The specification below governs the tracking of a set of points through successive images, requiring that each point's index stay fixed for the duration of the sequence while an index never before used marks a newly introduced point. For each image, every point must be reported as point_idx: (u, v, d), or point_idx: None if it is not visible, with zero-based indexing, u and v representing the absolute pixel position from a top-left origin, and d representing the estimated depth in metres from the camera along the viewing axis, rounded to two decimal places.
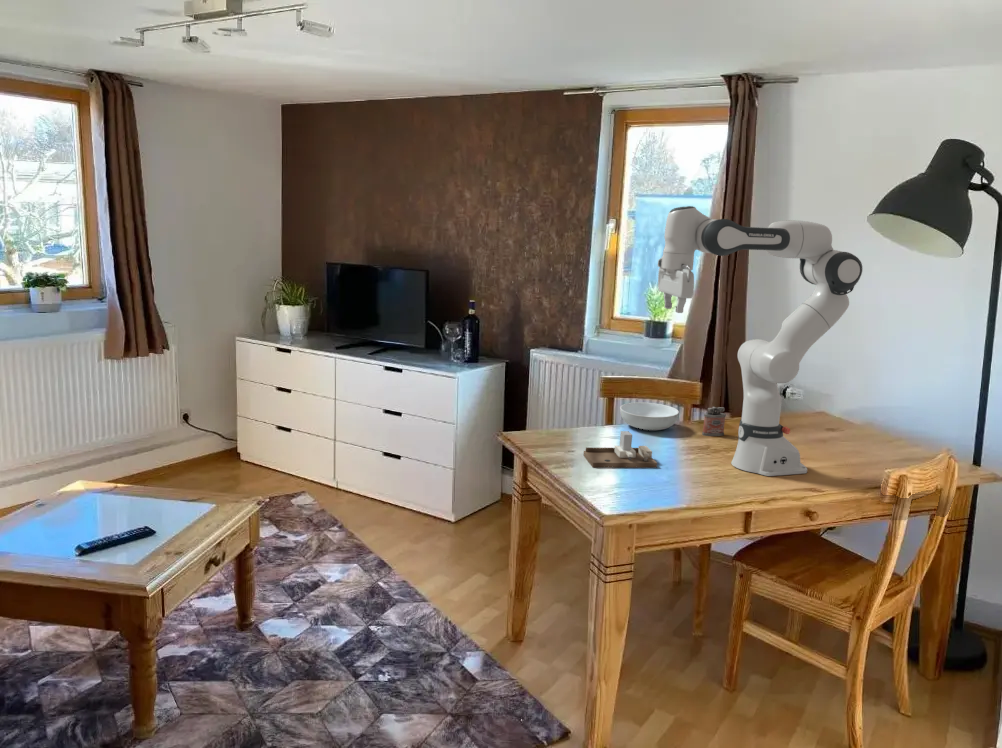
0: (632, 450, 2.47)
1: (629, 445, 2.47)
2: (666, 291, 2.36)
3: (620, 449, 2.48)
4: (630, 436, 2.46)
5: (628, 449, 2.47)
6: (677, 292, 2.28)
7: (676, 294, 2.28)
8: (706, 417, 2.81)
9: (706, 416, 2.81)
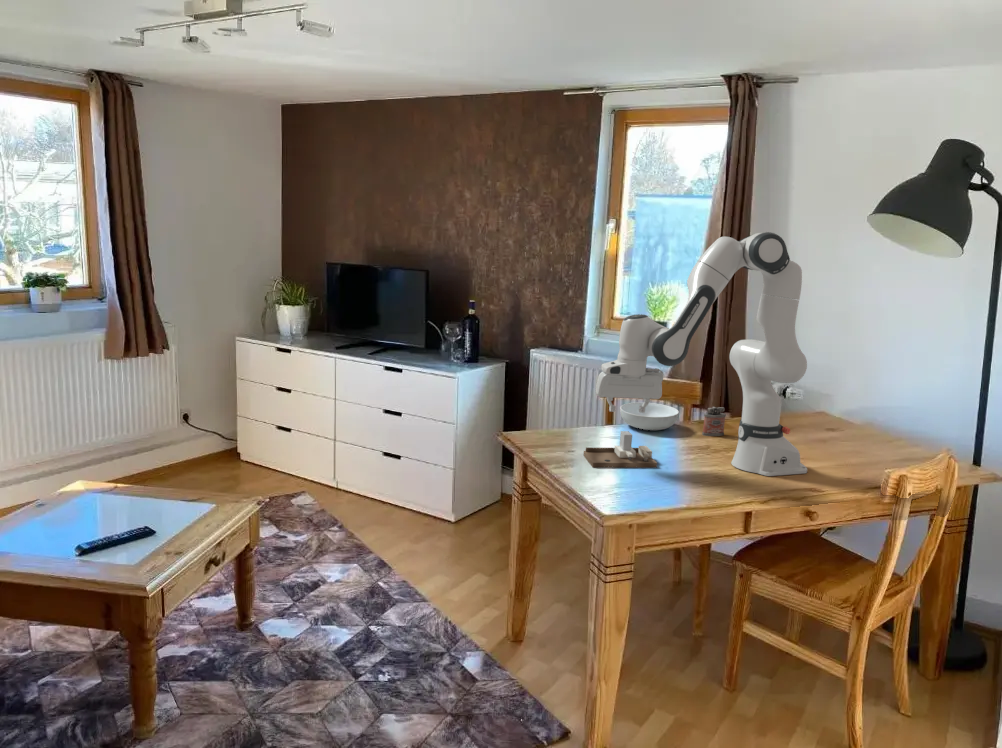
0: (632, 450, 2.47)
1: (629, 445, 2.47)
2: (622, 395, 2.44)
3: (620, 449, 2.48)
4: (630, 436, 2.46)
5: (628, 449, 2.47)
6: (650, 394, 2.45)
7: (649, 396, 2.45)
8: (706, 417, 2.81)
9: (706, 416, 2.81)
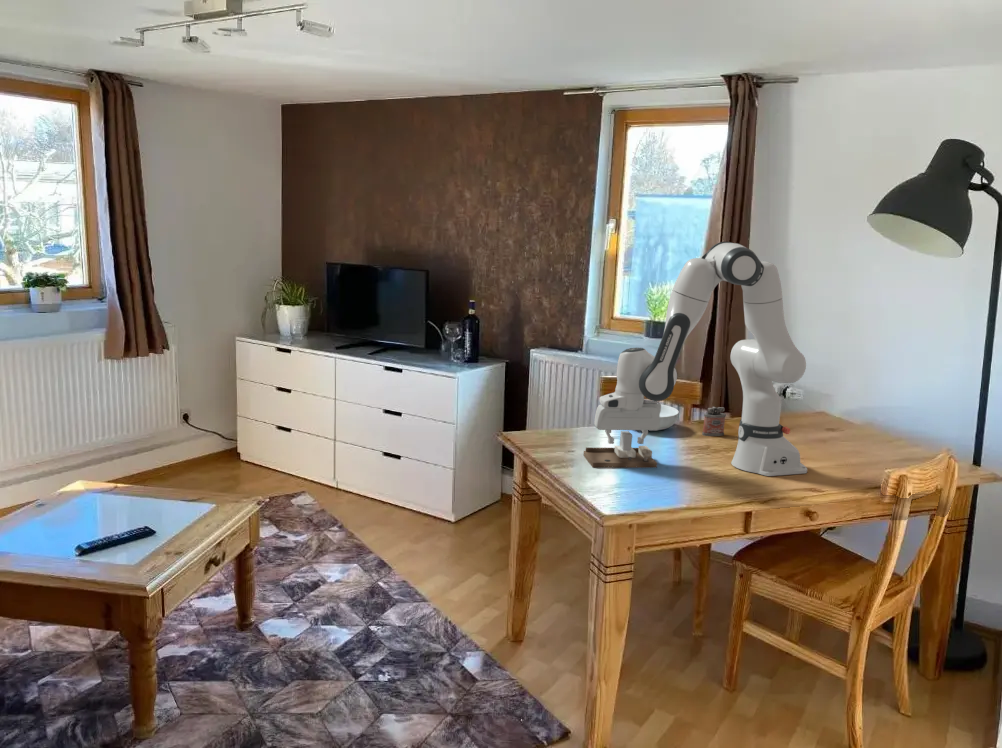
0: (632, 450, 2.47)
1: (629, 445, 2.47)
2: (621, 428, 2.45)
3: (620, 449, 2.48)
4: (630, 436, 2.46)
5: (628, 449, 2.47)
6: (648, 426, 2.47)
7: (647, 428, 2.47)
8: (706, 417, 2.81)
9: (706, 416, 2.81)
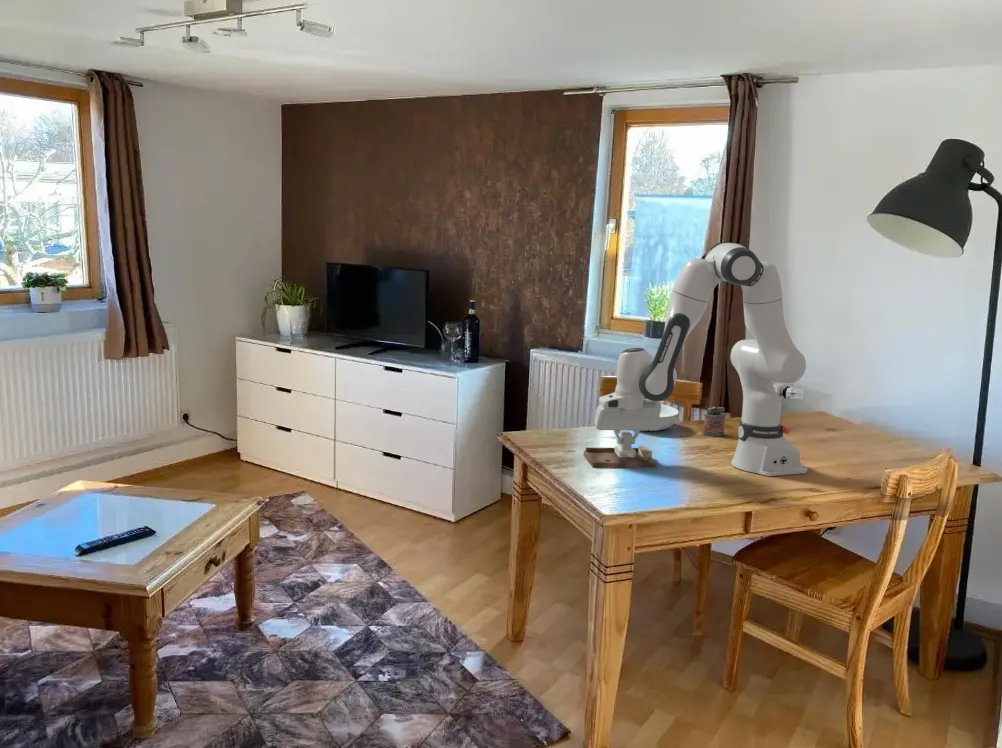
0: (632, 450, 2.47)
1: (629, 445, 2.47)
2: (621, 428, 2.46)
3: (620, 449, 2.48)
4: (630, 436, 2.46)
5: (628, 449, 2.47)
6: (648, 426, 2.47)
7: (647, 428, 2.47)
8: (706, 417, 2.81)
9: (706, 416, 2.81)
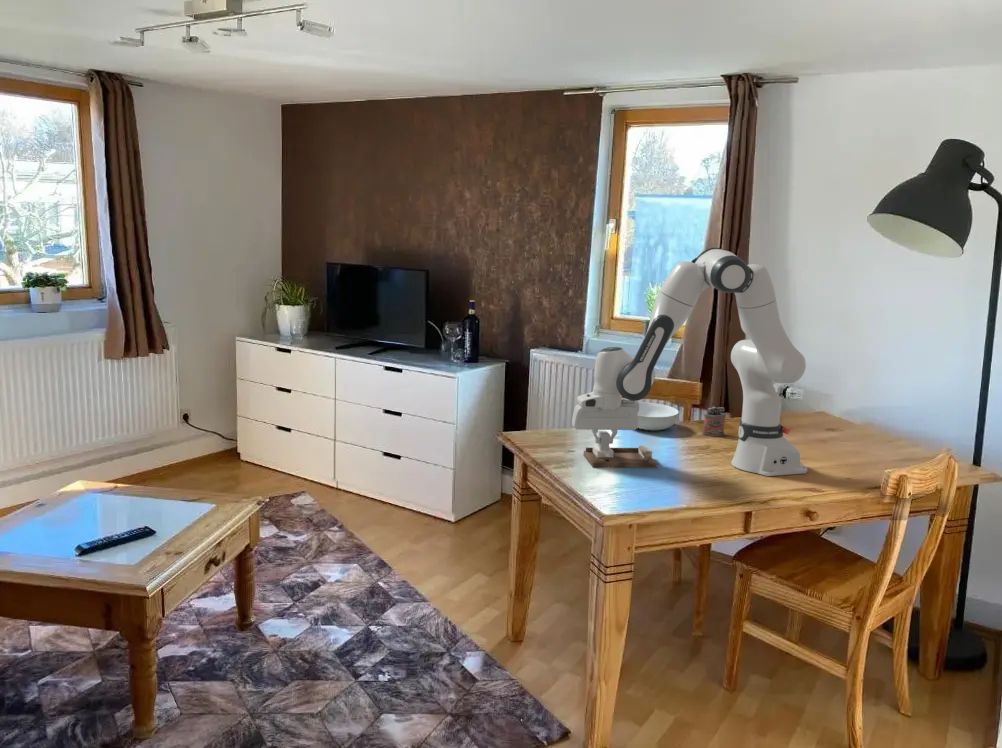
0: (610, 450, 2.46)
1: (607, 445, 2.46)
2: (598, 427, 2.45)
3: (598, 449, 2.47)
4: (608, 436, 2.45)
5: (606, 449, 2.46)
6: (626, 426, 2.46)
7: (625, 428, 2.46)
8: (706, 417, 2.81)
9: (706, 416, 2.81)
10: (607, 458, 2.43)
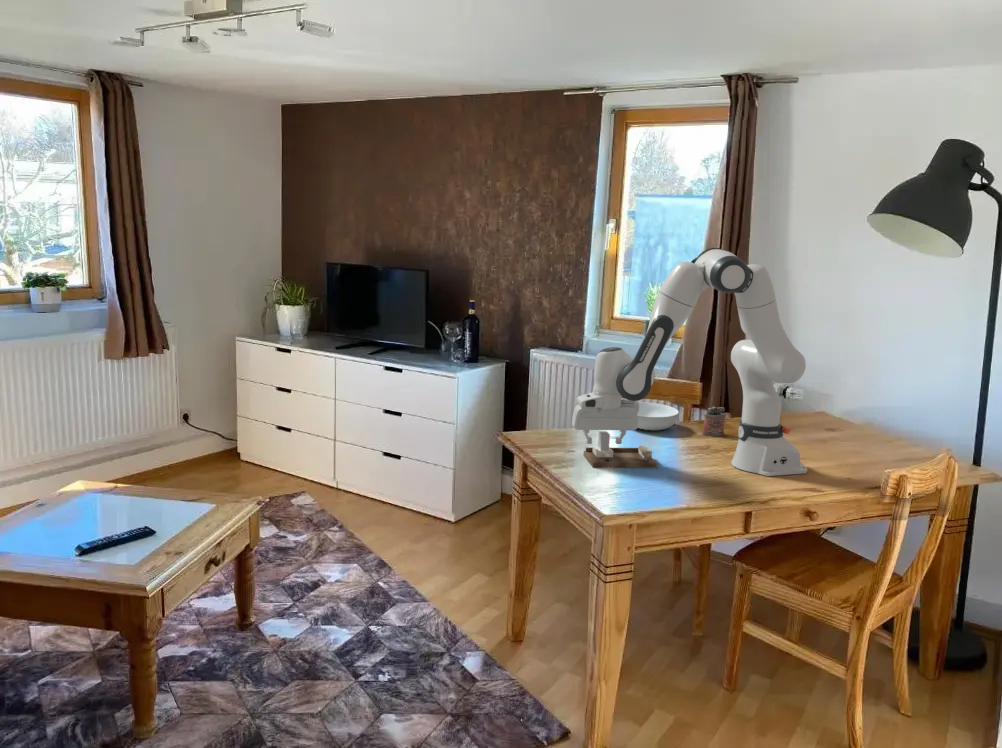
0: (610, 450, 2.46)
1: (607, 445, 2.46)
2: (598, 428, 2.45)
3: (598, 449, 2.47)
4: (608, 436, 2.45)
5: (606, 449, 2.46)
6: (626, 426, 2.46)
7: (625, 428, 2.46)
8: (706, 417, 2.81)
9: (706, 416, 2.81)
10: (607, 458, 2.43)
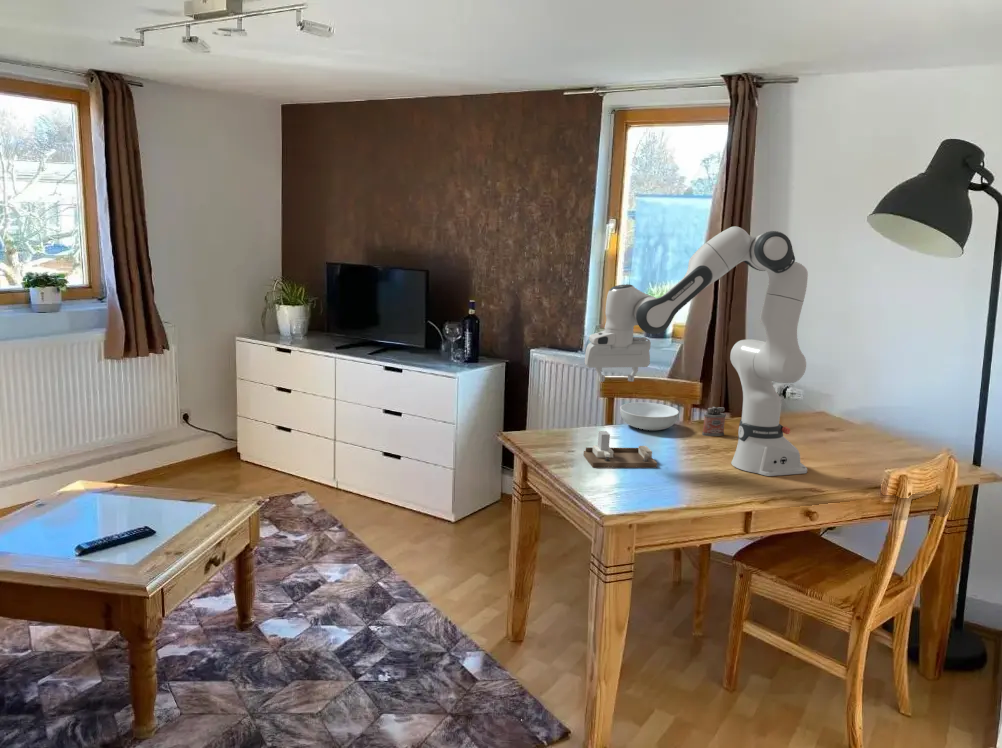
0: (610, 450, 2.46)
1: (607, 445, 2.46)
2: (611, 365, 2.47)
3: (598, 449, 2.47)
4: (608, 436, 2.45)
5: (606, 449, 2.46)
6: (638, 363, 2.48)
7: (637, 365, 2.48)
8: (706, 417, 2.81)
9: (706, 416, 2.81)
10: (607, 458, 2.43)
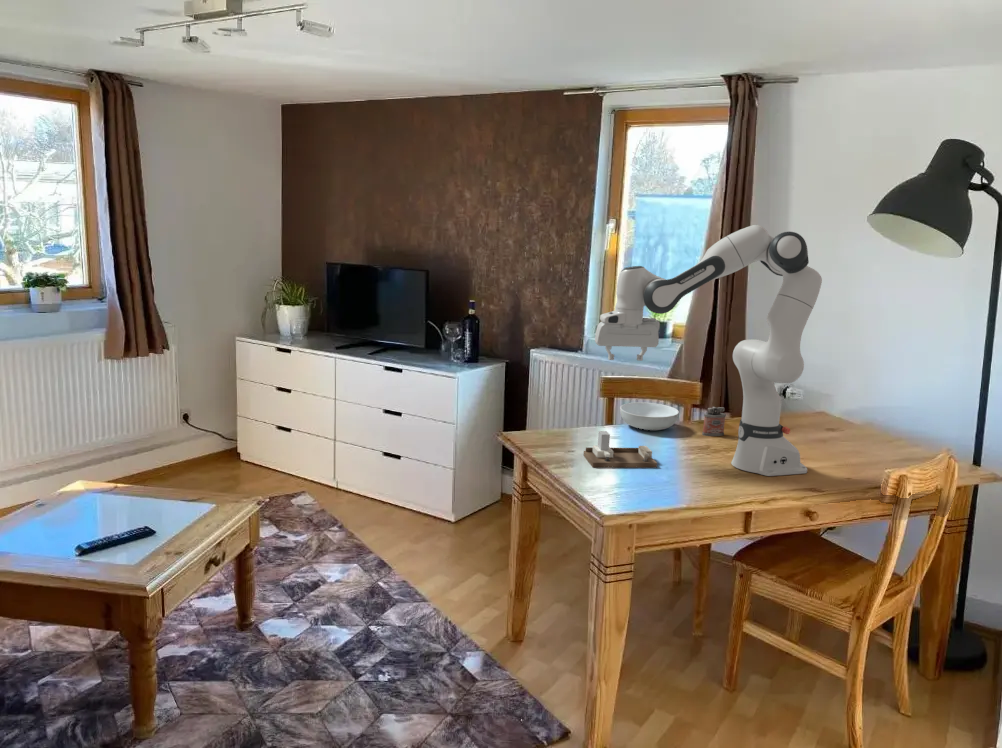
0: (610, 450, 2.46)
1: (607, 445, 2.46)
2: (620, 344, 2.54)
3: (598, 449, 2.47)
4: (608, 436, 2.45)
5: (606, 449, 2.46)
6: (647, 343, 2.55)
7: (646, 345, 2.55)
8: (706, 417, 2.81)
9: (706, 416, 2.81)
10: (607, 458, 2.43)
